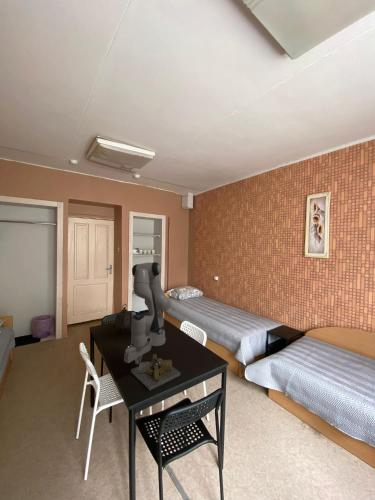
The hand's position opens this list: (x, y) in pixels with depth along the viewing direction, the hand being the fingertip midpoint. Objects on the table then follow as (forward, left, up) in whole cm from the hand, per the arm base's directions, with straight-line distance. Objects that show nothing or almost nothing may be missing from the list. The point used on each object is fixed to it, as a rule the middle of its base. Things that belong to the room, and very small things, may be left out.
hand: (138, 363), depth 133 cm
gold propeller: (+7, +8, -4) cm, 12 cm away
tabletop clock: (-71, +23, -7) cm, 75 cm away
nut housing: (+7, +8, -7) cm, 13 cm away
